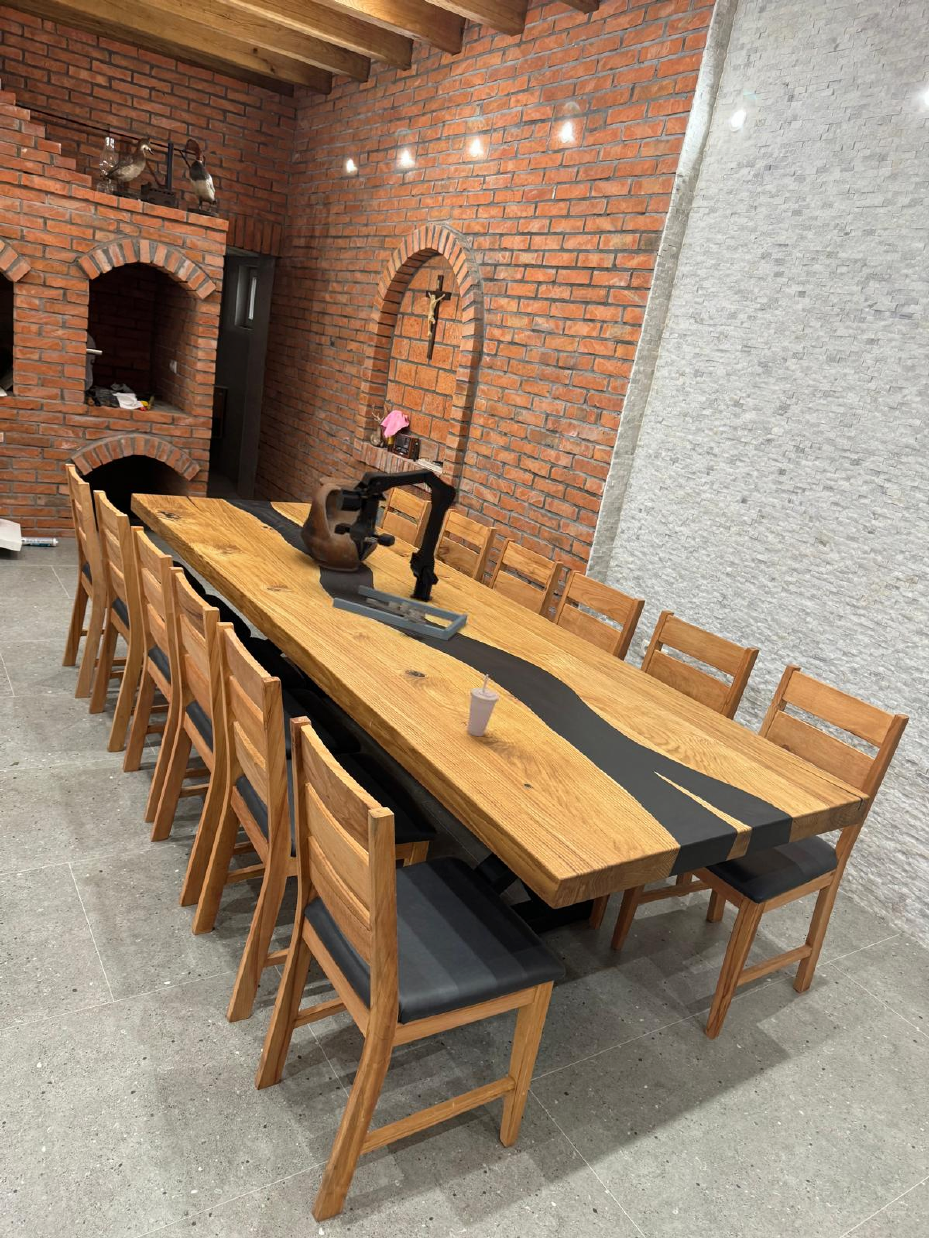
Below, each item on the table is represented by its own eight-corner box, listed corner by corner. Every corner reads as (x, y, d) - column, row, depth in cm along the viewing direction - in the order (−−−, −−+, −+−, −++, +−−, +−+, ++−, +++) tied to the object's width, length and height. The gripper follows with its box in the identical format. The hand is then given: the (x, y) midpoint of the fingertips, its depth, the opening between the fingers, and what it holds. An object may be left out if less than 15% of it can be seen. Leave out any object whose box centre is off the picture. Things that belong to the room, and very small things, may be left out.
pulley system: (395, 613, 263) (358, 602, 252) (400, 599, 262) (363, 587, 252) (448, 636, 243) (410, 624, 232) (453, 621, 242) (416, 609, 232)
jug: (360, 583, 278) (375, 497, 269) (282, 563, 280) (295, 477, 272) (383, 564, 309) (398, 486, 300) (313, 546, 311) (326, 469, 303)
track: (359, 592, 268) (361, 583, 267) (465, 623, 260) (467, 615, 259) (332, 606, 248) (334, 597, 247) (446, 640, 241) (448, 631, 240)
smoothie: (473, 723, 189) (486, 668, 185) (495, 735, 185) (509, 679, 181) (456, 729, 184) (469, 672, 180) (477, 741, 180) (491, 683, 176)
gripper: (330, 509, 250) (323, 558, 255) (387, 523, 247) (379, 572, 251) (344, 504, 261) (337, 551, 265) (399, 518, 257) (391, 566, 262)
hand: (360, 560), depth 261 cm, fingers closed
